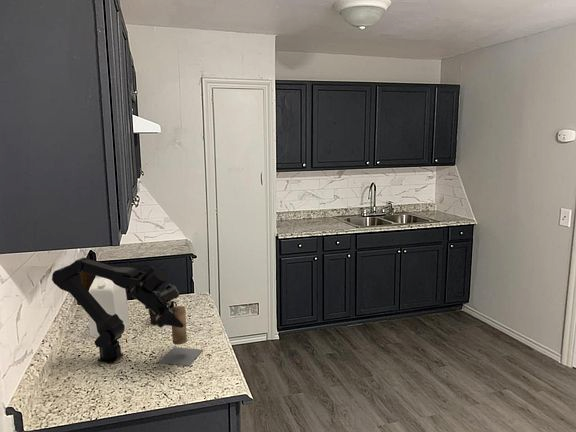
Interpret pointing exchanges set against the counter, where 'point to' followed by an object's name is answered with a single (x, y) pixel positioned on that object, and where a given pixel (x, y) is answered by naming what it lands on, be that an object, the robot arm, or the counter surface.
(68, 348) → the counter surface
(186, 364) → the mat
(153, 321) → the coffee mug
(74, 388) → the counter surface
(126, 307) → the milk
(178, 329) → the pepper mill
